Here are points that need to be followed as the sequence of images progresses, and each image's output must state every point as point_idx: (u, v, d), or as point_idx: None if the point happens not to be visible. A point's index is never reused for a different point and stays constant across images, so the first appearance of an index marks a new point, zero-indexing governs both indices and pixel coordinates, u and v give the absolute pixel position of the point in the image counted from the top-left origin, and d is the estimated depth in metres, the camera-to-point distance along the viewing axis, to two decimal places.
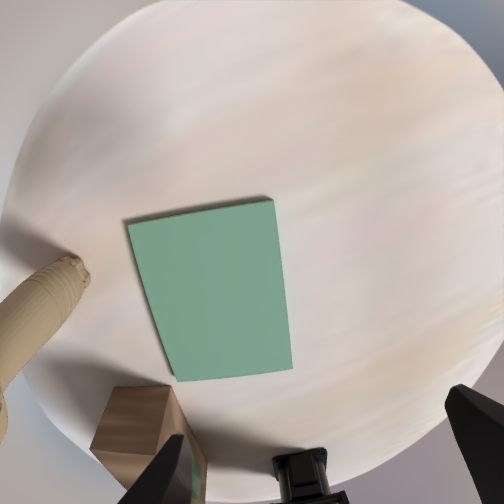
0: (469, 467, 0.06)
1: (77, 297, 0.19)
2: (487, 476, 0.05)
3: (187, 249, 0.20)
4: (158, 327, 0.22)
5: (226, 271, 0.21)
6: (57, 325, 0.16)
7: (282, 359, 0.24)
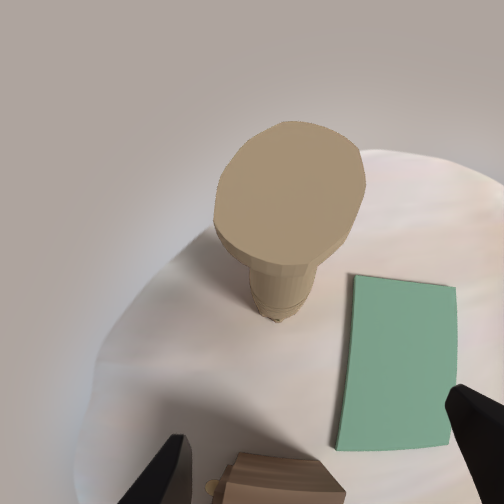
0: (469, 467, 0.06)
1: None
2: (487, 476, 0.05)
3: (398, 307, 0.23)
4: (349, 376, 0.20)
5: (422, 332, 0.21)
6: (307, 293, 0.17)
7: (443, 431, 0.18)
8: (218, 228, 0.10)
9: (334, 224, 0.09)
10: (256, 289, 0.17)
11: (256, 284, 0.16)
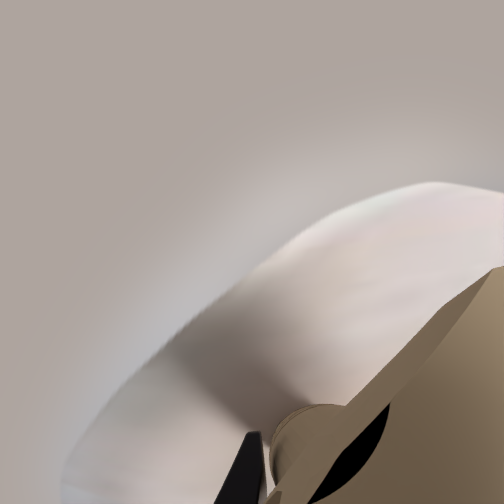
0: None
1: None
2: None
3: None
4: None
5: None
6: None
7: None
8: None
9: None
10: None
11: None
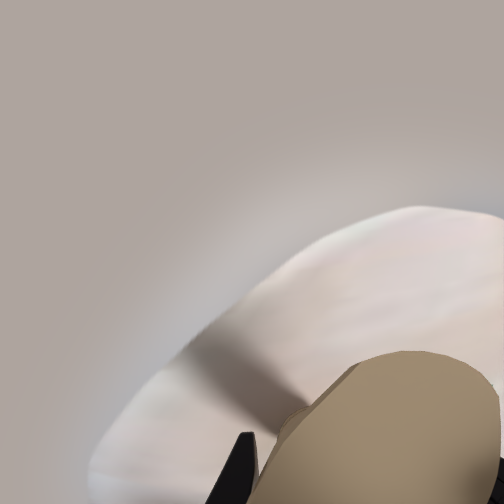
0: None
1: None
2: None
3: None
4: None
5: None
6: None
7: None
8: None
9: None
10: None
11: None
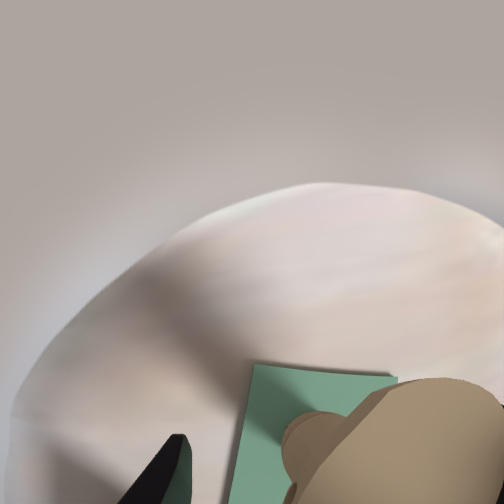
0: None
1: None
2: None
3: (307, 405, 0.18)
4: (234, 478, 0.16)
5: None
6: None
7: None
8: None
9: None
10: None
11: None
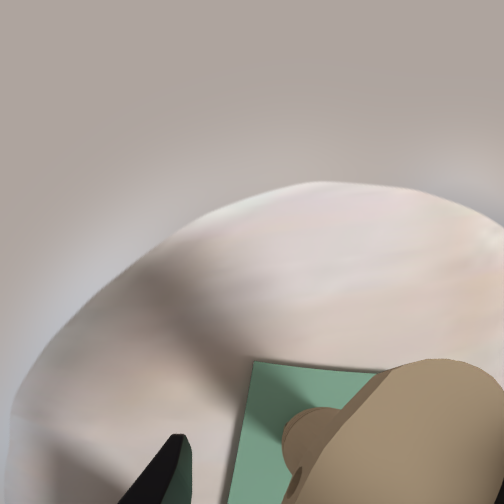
0: None
1: None
2: None
3: (307, 403, 0.18)
4: (234, 475, 0.16)
5: None
6: None
7: None
8: None
9: None
10: None
11: None
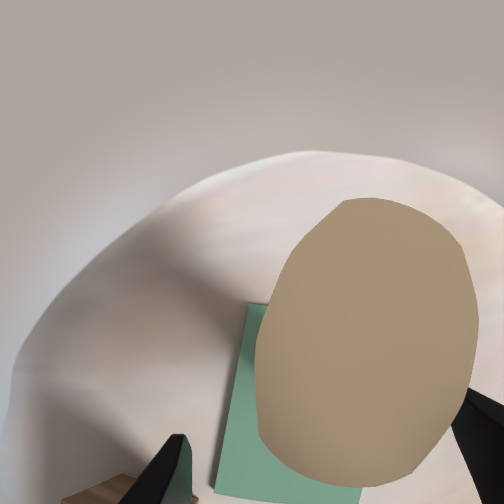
0: (469, 467, 0.06)
1: None
2: (487, 476, 0.05)
3: None
4: (229, 418, 0.18)
5: None
6: None
7: (351, 490, 0.15)
8: (270, 448, 0.05)
9: (445, 402, 0.05)
10: None
11: None
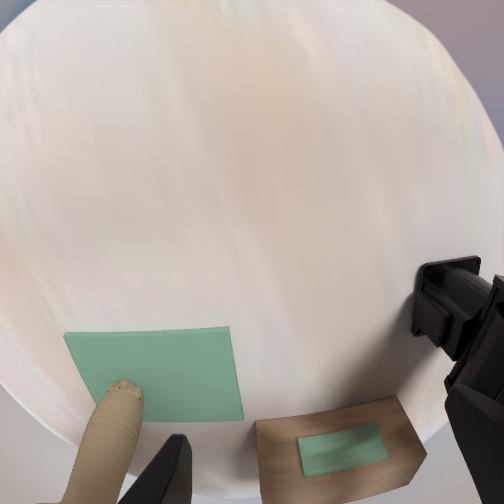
0: (469, 467, 0.06)
1: (117, 401, 0.19)
2: (487, 476, 0.05)
3: None
4: (180, 421, 0.24)
5: (120, 373, 0.22)
6: (108, 433, 0.16)
7: (212, 341, 0.21)
8: None
9: None
10: None
11: (127, 469, 0.16)
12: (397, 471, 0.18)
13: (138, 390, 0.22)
